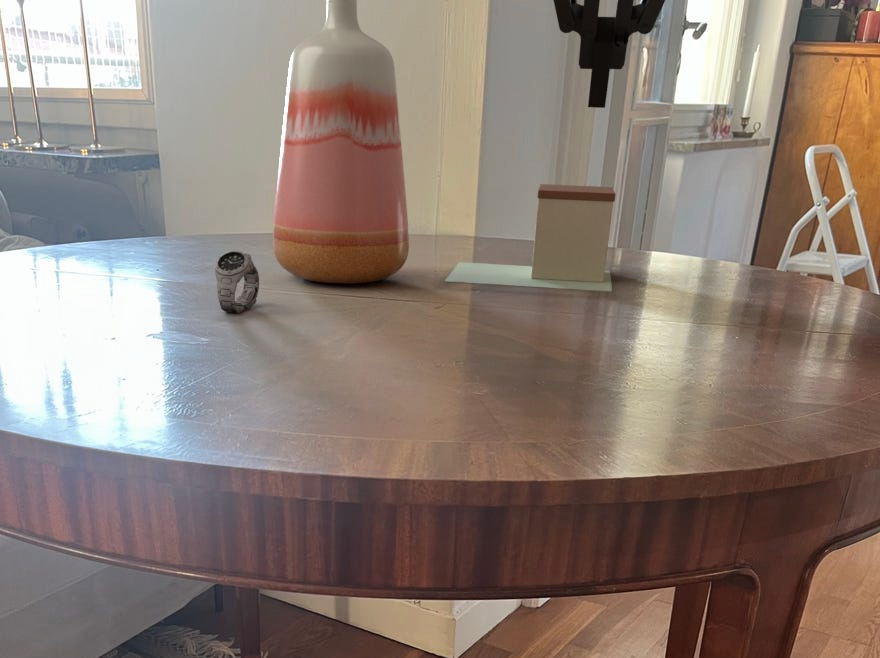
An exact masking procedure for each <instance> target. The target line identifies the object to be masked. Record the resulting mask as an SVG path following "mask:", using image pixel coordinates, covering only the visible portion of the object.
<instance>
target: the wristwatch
mask: <svg viewBox="0 0 880 658" xmlns="http://www.w3.org/2000/svg"><path fill="white" fill-rule="evenodd" d="M214 274H215V278H216V290H217V300H218V303H219V307H220V309H221V310H222V311H223V312H225V313H232V314H233V313H236V314H240V313H242V312H245V311H248V310H250V309H252V307H254V305H255V304H257V297H258V294H259V290H260V289H259V288H260V275H259V271H258V269H257V267H256V266H255V264H254V262H253V260H252V255H251V254H250V253H248V252H244V251H241V250H229V251H226V252H224V253H223V254H220V256H218V257H217V259H216V260H215V263H214ZM242 278H243V280H244V281H243V290H242V292H241V294H240V295H239V296H238V297H237V298H236V295H235V294H236V291H237V287H238V284H239V283H240V282H241V280H242Z"/></svg>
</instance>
